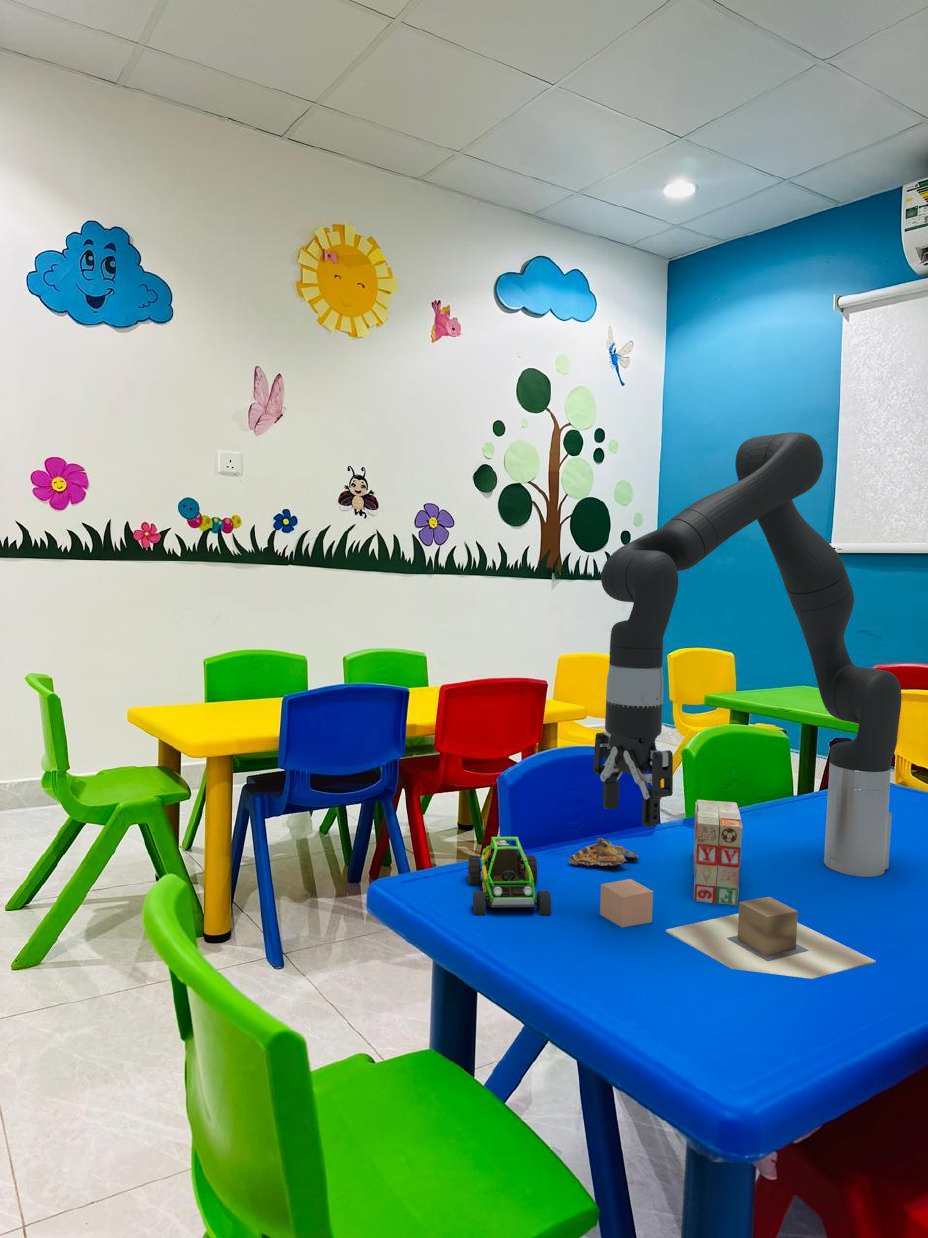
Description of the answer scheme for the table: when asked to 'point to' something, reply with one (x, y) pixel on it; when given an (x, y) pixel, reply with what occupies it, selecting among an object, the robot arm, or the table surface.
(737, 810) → the stack of blocks
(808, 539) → the robot arm
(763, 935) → the walnut cube
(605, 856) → the butterfly model
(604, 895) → the terracotta cube
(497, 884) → the motor vehicle
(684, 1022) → the table surface
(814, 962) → the cream flat pad
